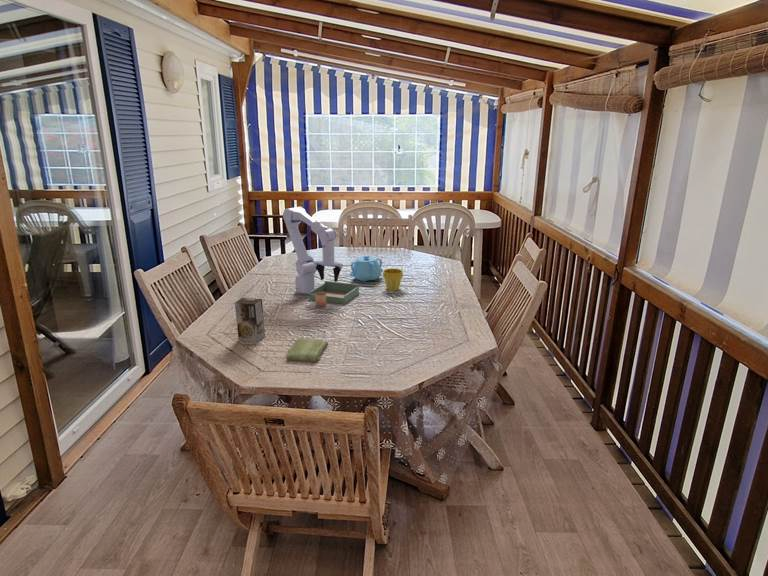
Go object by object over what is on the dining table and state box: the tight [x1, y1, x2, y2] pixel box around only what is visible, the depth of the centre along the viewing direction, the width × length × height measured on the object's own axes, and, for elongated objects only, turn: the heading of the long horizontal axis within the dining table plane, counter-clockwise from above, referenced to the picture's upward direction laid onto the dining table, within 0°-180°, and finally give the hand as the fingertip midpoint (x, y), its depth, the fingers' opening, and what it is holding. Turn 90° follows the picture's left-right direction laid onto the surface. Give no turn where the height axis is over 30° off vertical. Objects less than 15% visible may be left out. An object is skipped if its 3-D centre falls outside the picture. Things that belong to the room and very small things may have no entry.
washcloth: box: [285, 337, 329, 363], centre depth 191 cm, size 13×18×3 cm
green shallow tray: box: [309, 280, 360, 305], centre depth 254 cm, size 19×17×5 cm
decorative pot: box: [349, 254, 384, 283], centre depth 283 cm, size 16×16×14 cm
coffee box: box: [234, 297, 266, 342], centre depth 202 cm, size 9×6×16 cm
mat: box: [304, 300, 337, 312], centre depth 241 cm, size 12×10×1 cm
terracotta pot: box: [315, 292, 328, 307], centre depth 240 cm, size 5×5×6 cm
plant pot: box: [382, 268, 404, 291], centre depth 266 cm, size 10×10×10 cm
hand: (329, 280), depth 250 cm, fingers open, 7 cm apart
